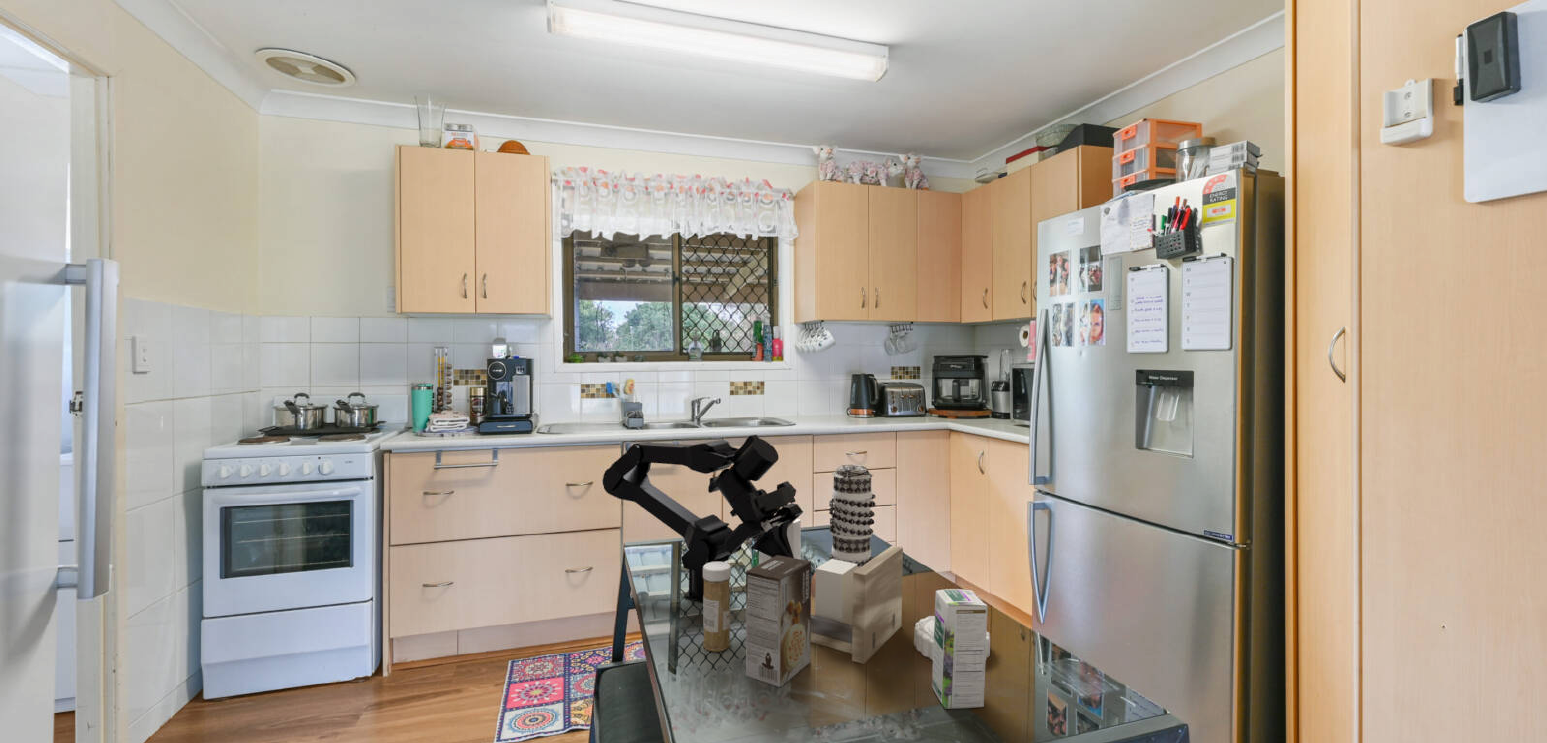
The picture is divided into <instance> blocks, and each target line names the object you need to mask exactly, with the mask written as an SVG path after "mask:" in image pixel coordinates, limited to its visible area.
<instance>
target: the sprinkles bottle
mask: <svg viewBox="0 0 1547 743" xmlns="http://www.w3.org/2000/svg"><path fill="white" fill-rule="evenodd" d="M731 577H732V566H731V564H729V563H728V562H727V561H725V562H710V563H707V564H705V565H704V566H703V578H704V579H703V580H704V595H703V603H702V604H703V606H702V607H703V609H702V611H703V618H702V621H703V642H702V646H703V648H704V649H705V650H706V651H708V652H713V653H717V652H723V651H726V650H729V648H730V646H731V640H730V639H731V637H730V635H731V630H730V627H731V597H730V593H731V592H730V591H731V590H730V589H731V588H730V587H731V586H730V580H731Z"/></svg>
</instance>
